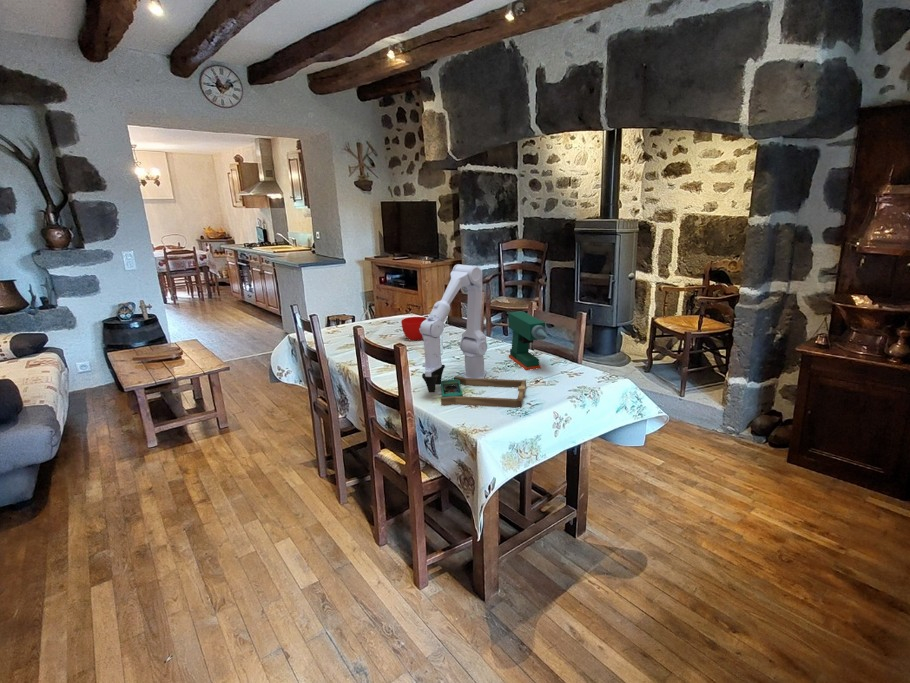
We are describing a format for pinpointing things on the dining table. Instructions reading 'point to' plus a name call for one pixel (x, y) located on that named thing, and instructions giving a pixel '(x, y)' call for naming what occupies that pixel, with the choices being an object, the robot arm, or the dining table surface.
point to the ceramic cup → (412, 327)
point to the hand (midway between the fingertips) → (434, 388)
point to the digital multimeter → (451, 388)
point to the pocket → (484, 400)
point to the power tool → (525, 338)
